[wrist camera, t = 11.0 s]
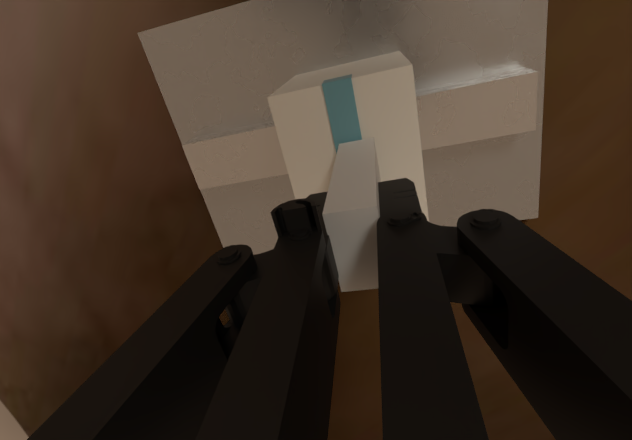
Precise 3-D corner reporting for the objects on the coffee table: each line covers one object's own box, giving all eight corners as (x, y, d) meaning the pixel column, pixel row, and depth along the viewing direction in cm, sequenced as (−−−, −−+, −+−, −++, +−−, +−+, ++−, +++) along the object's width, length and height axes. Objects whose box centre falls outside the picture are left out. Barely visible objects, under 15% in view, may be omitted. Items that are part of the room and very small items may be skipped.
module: (295, 74, 22) (266, 96, 16) (399, 49, 20) (412, 63, 14) (325, 198, 25) (310, 256, 19) (415, 183, 24) (431, 241, 18)
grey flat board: (146, 32, 23) (119, 34, 20) (542, -82, 18) (570, -98, 15) (231, 251, 30) (219, 271, 27) (532, 210, 25) (549, 231, 22)
